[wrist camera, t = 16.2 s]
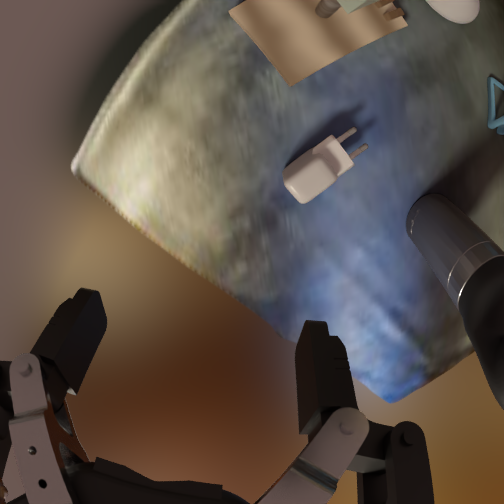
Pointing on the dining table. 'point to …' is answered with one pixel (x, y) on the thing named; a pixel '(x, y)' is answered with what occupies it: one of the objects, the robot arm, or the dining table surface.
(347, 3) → the square hollow tube
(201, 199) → the dining table surface
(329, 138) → the power adapter
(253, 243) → the dining table surface
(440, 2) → the flower in vase
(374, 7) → the post
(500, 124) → the chair
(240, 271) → the dining table surface
